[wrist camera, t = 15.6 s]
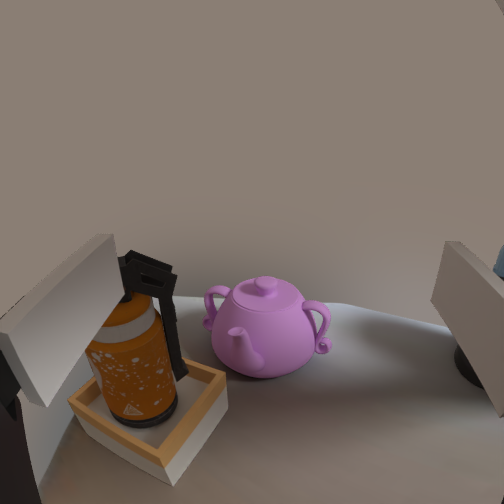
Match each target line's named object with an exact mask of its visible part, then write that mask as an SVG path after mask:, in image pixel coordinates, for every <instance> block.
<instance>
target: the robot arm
mask: <svg viewBox="0 0 504 504" xmlns="http://www.w3.org/2000/svg"><path fill="white" fill-rule="evenodd" d="M496 2H497V4H498V6H499V7H500V9H501V11H502V12H503V14H504V0H496ZM124 294H125V293H124V288H123V283H122V279H121V274H120V269H119V264H118V258H117V253H116V247H115V242H114V236H113V234H97V235H95V236H94V237H93V238H92V239H90V240H89V241H88V242H87V243H86V244H84V245H83V246H82V247H81V248H79V249H78V250H77V251H76V252H74V253H73V254H72V255H71V256H70V257H68V258H67V259H66V260H65V261H64V262H63V263H61V264H60V265H59V266H58V267H57V268H56V269H54V270H53V271H52V272H51V273H50V274H49V275H47V277H45V278H44V279H43V280H42V281H41V282H40V283H38V284H37V285H36V286H35V287H34V288H33V289H32V290H31V291H30V292H29V293H28V294H26V295H25V296H23V297H22V298H21V299H20V300H19V301H18V302H17V303H16V304H15V306H13V307H12V308H11V309H10V310H9V311H8V312H7V313H6V314H4V315H3V316H2V317H1V318H0V504H42V503H41V500H40V496H39V493H38V489H37V485H36V482H35V478H34V474H33V470H32V465H31V461H30V456H29V452H28V446H27V442H26V436H25V430H24V424H23V417H22V409H21V403H20V400H19V399H18V397H17V393H18V392H19V390H20V389H22V390H23V392H24V394H25V395H26V397H27V399H28V400H29V401H30V402H32V403H35V404H37V405H40V406H43V407H46V408H48V406H49V404H50V403H51V401H52V399H53V398H54V396H55V395H56V393H57V392H58V390H59V388H60V387H61V385H62V384H63V382H64V381H65V379H66V378H67V376H68V374H69V373H70V371H71V370H72V368H73V367H74V365H75V364H76V362H77V361H78V359H79V358H80V356H81V355H82V353H83V352H84V351H85V349H86V348H87V346H88V345H89V343H90V342H91V340H92V339H93V338H94V336H95V335H96V333H97V332H98V330H99V329H100V328H101V326H102V325H103V323H104V322H105V321H106V319H107V318H108V316H109V315H110V314H111V312H112V311H113V309H114V308H115V307H116V305H117V304H118V303H119V301H120V300H121V298H122V297H123V296H124ZM431 302H432V304H433V305H434V307H435V308H436V310H437V311H438V312H439V314H440V316H441V317H442V319H443V320H444V322H445V323H446V325H447V326H448V328H449V330H450V331H451V333H452V334H453V336H454V337H455V339H456V341H457V342H458V345H457V348H456V350H455V362H456V365H457V367H458V369H459V370H460V372H461V373H462V374H463V375H464V376H465V377H466V378H467V379H468V380H469V381H470V382H472V383H473V384H475V385H477V386H479V387H481V388H484V389H485V391H486V392H487V394H488V396H489V398H490V400H491V402H492V404H493V406H494V408H495V410H496V411H497V413H498V415H499V417H500V418H501V417H504V245H503V246H502V248H501V250H500V252H499V255H498V259H497V262H496V264H495V265H494V267H493V271H492V270H491V269H490V268H489V267H488V266H487V265H486V264H485V263H484V262H482V261H481V260H480V259H479V258H478V257H477V256H476V255H475V254H474V253H472V252H471V251H470V250H469V249H468V248H467V247H465V245H463V244H462V243H461V242H454V241H445V245H444V250H443V254H442V259H441V263H440V267H439V271H438V275H437V279H436V284H435V287H434V291H433V294H432V298H431ZM501 504H504V497H503V500H502V503H501Z"/></svg>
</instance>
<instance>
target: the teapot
mask: <svg viewBox="0 0 504 504" xmlns="http://www.w3.org/2000/svg"><path fill="white" fill-rule="evenodd" d="M213 294H219V295H222V296H224V297H225V298H226V299H225V300H224V302H223V303H222V305H221V306H220V308H219V310H218V312H217V310H216V308H215V305H214V301H213ZM204 302H205V307H206V310H207V313H208V315H206V316H205V317H204V318H203V326H204V327H205V328H206V329H207V330H208V331H211V332H212V335H211V337H212V347H213V350H214V352H215V354H216V355H217V357H218V358H219V359H220V360H221V361H222V362H223V363H224V364H225V365H226V366H228V367H229V368H231V369H233V370H235V371H236V372H239V373H241V374H244V375H247V376H250V377H255V378H275V377H279V376H283V375H286V374H289V373H291V372H293V371H295V370H297V369H298V368H300V367H302V366H303V365H304V364H305V363H307V362H308V360H309V359H310V358H311V357H312V355H313V353H314V352H316V353H318V354H325V353H328V352H329V351H330V349H331V347H332V343H331V341H330V339H328V338H323V336H324V335H325V333H326V331H327V329H328V327H329V324H330V320H331V314H330V311H329V309H328V308H327V307H326V306H325V305H324V304H322V303H321V302H318V301H315V300H308V301H305V299H304V298H303V296H302V295H301V294H300V292H299V291H298V290H297V288H296V287H295V286H293V285H292V284H290V283H288V282H286V281H284V280H280V279H276V278H273V277H270V276H261V277H257V278H253V279H249V280H246V281H244V282H241V283H240V284H238V285H237V286H236V287H234V289H233V290H231V289H229V288H228V287H225V286H221V285H217V286H213V287H211V288H210V289H208V291H207V292H206V293H205V296H204ZM311 310H314V311H317V312H319V313H320V314H321V315H322V316H323V323H322V326H321V328H320V330H319V332H318V333H317V328H316V323H315V319H314V316H313V314H312V312H311ZM320 343H322V344H325V345H321V344H320Z"/></svg>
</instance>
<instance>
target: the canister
mask: <svg viewBox="0 0 504 504" xmlns="http://www.w3.org/2000/svg"><path fill="white" fill-rule="evenodd" d="M117 258H118V264H119V269H120V274H121V279H122V283H123V288H124V293H125V294H124V296H123V297H122V298H121V300H120V301H119V303H118V304H117V305H116V307H115V308H114V309H113V311H112V312H111V314H110V315H109V316H108V318H107V319H106V321H105V322H104V323H103V325H102V326H101V328H100V329H99V330H98V332H97V333H96V335H95V336H94V338H93V339H92V340H91V342H90V343H89V345H88V346H87V348H86V349H85V353H86V356H87V358H88V361H89V363H90V366H91V368H92V371H93V373H94V376H95V378H96V381H97V383H98V385H99V388H100V390H101V392H102V395H103V397H104V399H105V401H106V403H107V405H108V408H109V410H110V412H111V414H112V416H113V417H114V418H115V419H116V420H117V421H118V422H119V423H121V424H123V425H125V426H127V427H131V428H137V429H145V428H151V427H154V426H157V425H159V424H161V423H163V422H165V421H166V420H167V419H168V418H170V417H171V415H172V414H173V413H174V411H175V410H176V407H177V404H178V395H177V391H176V387H175V383H174V378H173V374H174V377H175V379H176V382H178V381H179V380H181V379H182V378H183V377H184V376H186V375H187V374H188V373H189V370H188V368H187V366H186V363H185V361H184V360H183V359H182V356H181V351H180V345H179V339H178V333H177V327H176V322H177V319H176V312H175V306H174V303H173V300H172V295H173V291H174V287H175V283H176V279H177V275H175V274H172V273H171V270H172V266H171V265H169V264H166V263H163V262H161V261H158V260H155V259H153V258H150V257H148V256H145V255H143V254H140V253H138V252H135V251H133V250H130V251H129V252H128V253H127V254H126V255H125V256H122V257H117ZM152 297H155V298H158V299H159V305H160V311H161V315H160V314H159V312H158V311H157V310H156V309H155V308H154V305H153V300H152ZM161 317H162V319H161ZM162 322H163V324H162ZM163 328H164V330H163ZM164 333H165V335H164ZM165 338H166V340H165ZM166 343H167V345H166ZM167 348H168V350H167ZM168 353H169V355H168ZM169 358H170V360H169ZM170 363H171V365H170ZM171 368H172V369H171ZM172 371H173V374H172Z"/></svg>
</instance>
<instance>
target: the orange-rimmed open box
mask: <svg viewBox="0 0 504 504" xmlns="http://www.w3.org/2000/svg"><path fill="white" fill-rule="evenodd" d="M168 355H169V353H168ZM182 359H183V360H184V361H185V363H186V366H187V368H188V370H189V373H188V374H187V375H186V376H184V377H183V378H182V379H181V380H179V381H178V382H176V379H175V377H174V374H173V371H172V374H173V378H174V383H175V387H176V391H177V395H178V404H177V407H176V410H175V411H174V413H173V414H172V415H171V417H170V418H168V419H167V420H166V421H165V422H163V423H161V424H159V425H157V426H154V427H151V428H145V429H137V428H131V427H127V426H125V425H123V424H121V423H119V422H118V421H117V420H116V419H115V418H114V417H113V416H112V414H111V412H110V410H109V408H108V405H107V403H106V401H105V399H104V397H103V395H102V392H101V390H100V388H99V385H98V383H97V381H96V378H95V376H94V377H93V378H91V379H90V380H89V381H88V382H87V383H86V384H85V385H83V386H82V387H81V388H80V389H79V390H78V391H77V392H75V393H74V394H73V395H72V396H71V397H70V398H69V399H67V401H68V402H69V404H70V406H71V408H72V410H73V411H74V413H75V415H76V417H77V418H78V420H79V422H80V424H81V425H82V427H83V429H84V430H85V432H86V433H87V435H89V436H90V437H92V438H93V439H94V440H96V441H97V442H99V443H100V444H102V445H103V446H105V447H106V448H108V449H109V450H111V451H112V452H114V453H115V454H117V455H118V456H120V457H122V458H123V459H125V460H126V461H128V462H130V463H131V464H133V465H135V466H136V467H138V468H140V469H141V470H143V471H145V472H147V473H148V474H150V475H152V476H154V477H156V478H157V479H159V480H161V481H163V482H165V483H167V484H169V485H171V486H174V485H175V484H176V482H177V481H178V480H179V478H180V477H181V475H182V474H183V473H184V471H185V470H186V469H187V467H188V466H189V465H190V463H191V462H192V460H193V459H194V458H195V456H196V455H197V453H198V452H199V451H200V449H201V448H202V446H203V445H204V443H205V442H206V441H207V439H208V438H209V436H210V435H211V433H212V432H213V430H214V429H215V428H216V426H217V425H218V423H219V422H220V420H221V419H222V417H223V416H224V414H225V413H226V411H227V410H228V398H227V386H226V373H225V372H223V371H220V370H217V369H214V368H211V367H208V366H206V365H203V364H200V363H197V362H194V361H192V360H189V359H186V358H183V357H182ZM169 360H170V358H169ZM170 365H171V363H170ZM171 369H172V368H171Z"/></svg>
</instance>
